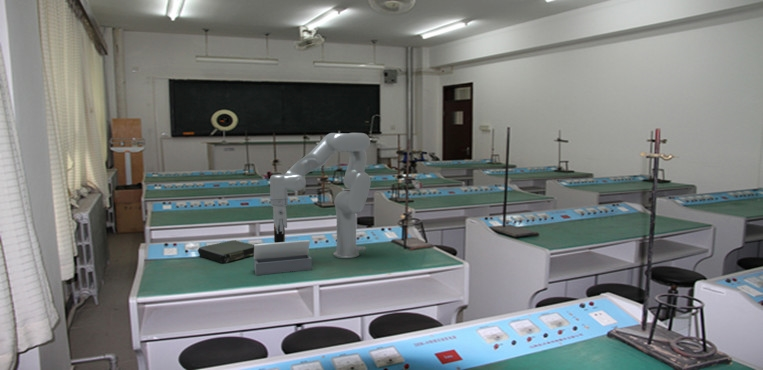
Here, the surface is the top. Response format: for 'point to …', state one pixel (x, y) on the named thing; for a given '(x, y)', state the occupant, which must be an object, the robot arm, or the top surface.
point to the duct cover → (281, 249)
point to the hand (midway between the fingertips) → (279, 242)
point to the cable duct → (282, 264)
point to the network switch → (227, 251)
